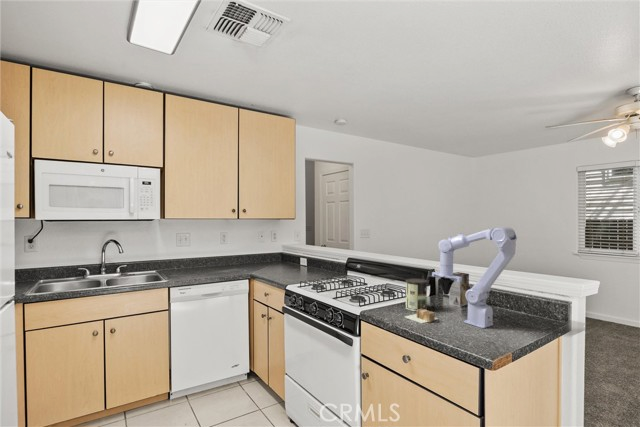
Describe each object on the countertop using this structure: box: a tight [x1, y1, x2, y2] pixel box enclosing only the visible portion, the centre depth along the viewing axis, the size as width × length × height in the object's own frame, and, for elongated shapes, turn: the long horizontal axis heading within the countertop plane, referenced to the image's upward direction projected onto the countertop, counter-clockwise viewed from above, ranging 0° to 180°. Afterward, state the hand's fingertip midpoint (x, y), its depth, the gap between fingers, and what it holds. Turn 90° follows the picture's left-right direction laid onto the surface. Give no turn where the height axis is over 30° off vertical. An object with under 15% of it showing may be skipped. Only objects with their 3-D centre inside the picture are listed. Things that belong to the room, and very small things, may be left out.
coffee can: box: [405, 277, 428, 312], centre depth 170 cm, size 10×10×14 cm
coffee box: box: [448, 271, 470, 308], centre depth 178 cm, size 9×6×16 cm
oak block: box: [416, 309, 436, 323], centre depth 153 cm, size 4×4×7 cm
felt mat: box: [404, 313, 439, 324], centre depth 155 cm, size 10×11×1 cm
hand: (446, 294), depth 159 cm, fingers closed
